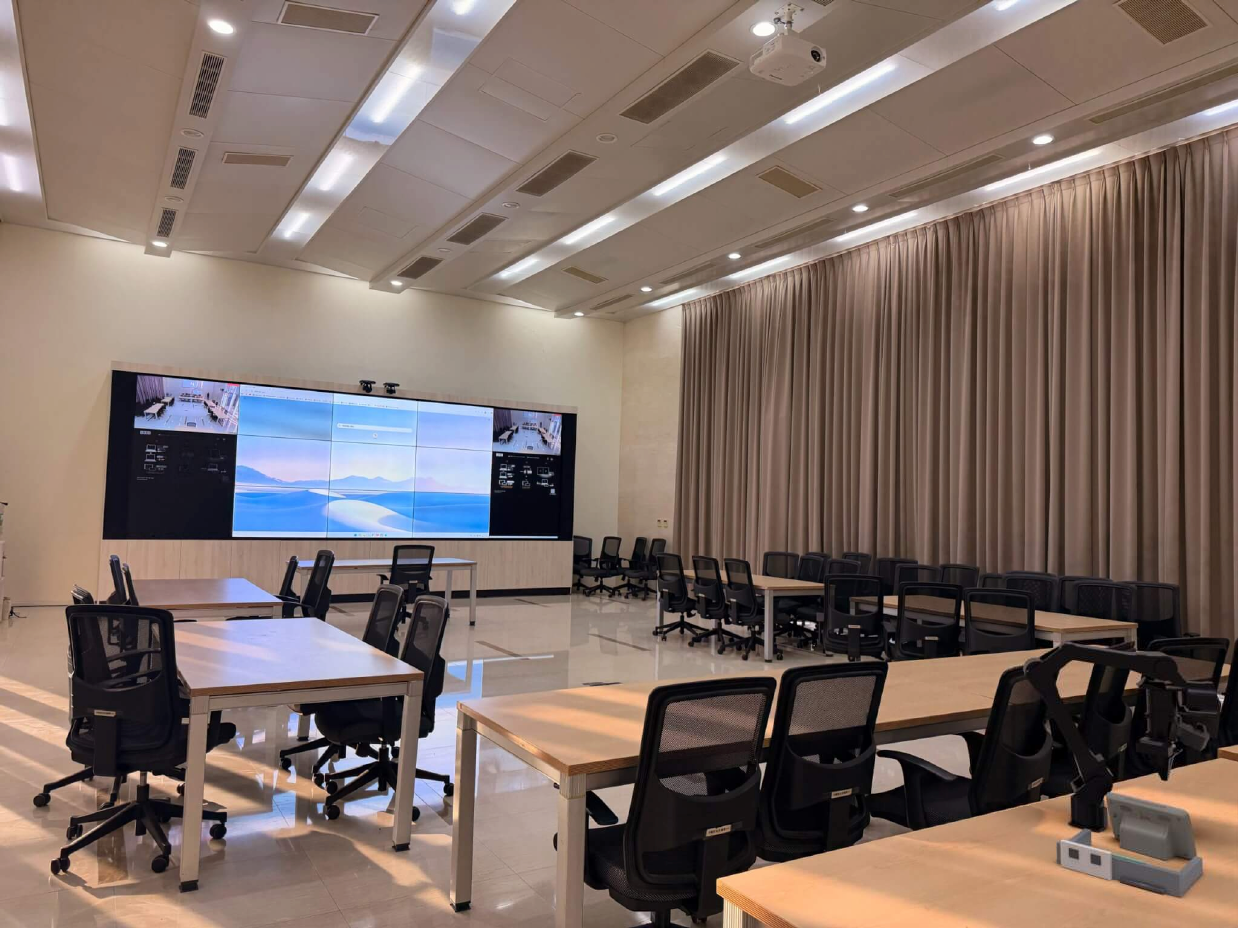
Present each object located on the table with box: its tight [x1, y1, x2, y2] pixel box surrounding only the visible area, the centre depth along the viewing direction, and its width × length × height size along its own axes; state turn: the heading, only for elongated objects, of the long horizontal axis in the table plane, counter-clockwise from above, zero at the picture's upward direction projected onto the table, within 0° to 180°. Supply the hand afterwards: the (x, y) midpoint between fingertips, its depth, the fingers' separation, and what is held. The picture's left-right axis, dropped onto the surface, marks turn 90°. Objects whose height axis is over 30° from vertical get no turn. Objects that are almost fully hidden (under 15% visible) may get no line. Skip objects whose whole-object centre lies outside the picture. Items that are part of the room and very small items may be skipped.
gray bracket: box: [1056, 828, 1204, 898], centre depth 168 cm, size 21×18×5 cm
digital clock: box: [1105, 791, 1198, 862], centre depth 178 cm, size 16×9×11 cm, turn 26°
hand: (1164, 780), depth 187 cm, fingers closed
